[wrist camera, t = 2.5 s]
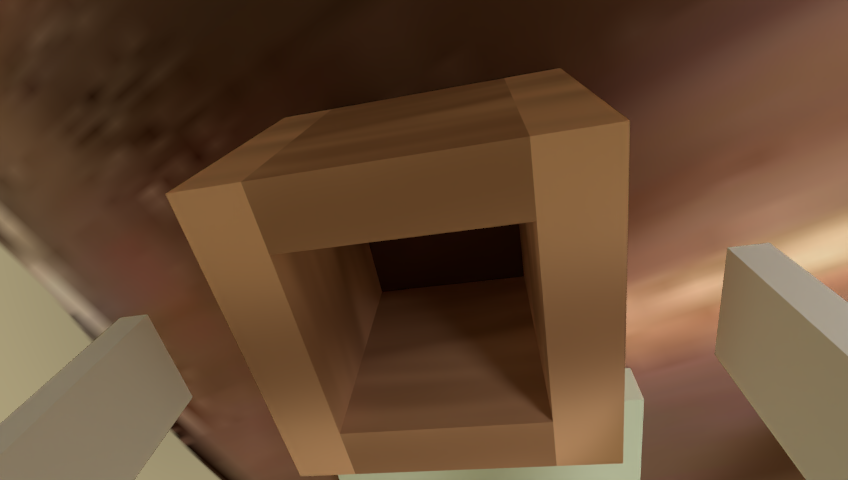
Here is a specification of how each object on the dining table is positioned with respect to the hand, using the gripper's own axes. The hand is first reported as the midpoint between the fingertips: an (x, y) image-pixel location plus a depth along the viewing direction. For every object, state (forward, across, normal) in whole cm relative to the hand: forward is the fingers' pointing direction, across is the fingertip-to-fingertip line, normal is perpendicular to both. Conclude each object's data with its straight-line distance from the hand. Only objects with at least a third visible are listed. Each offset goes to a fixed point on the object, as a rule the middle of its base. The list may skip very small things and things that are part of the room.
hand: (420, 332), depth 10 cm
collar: (+5, 0, +1) cm, 5 cm away
